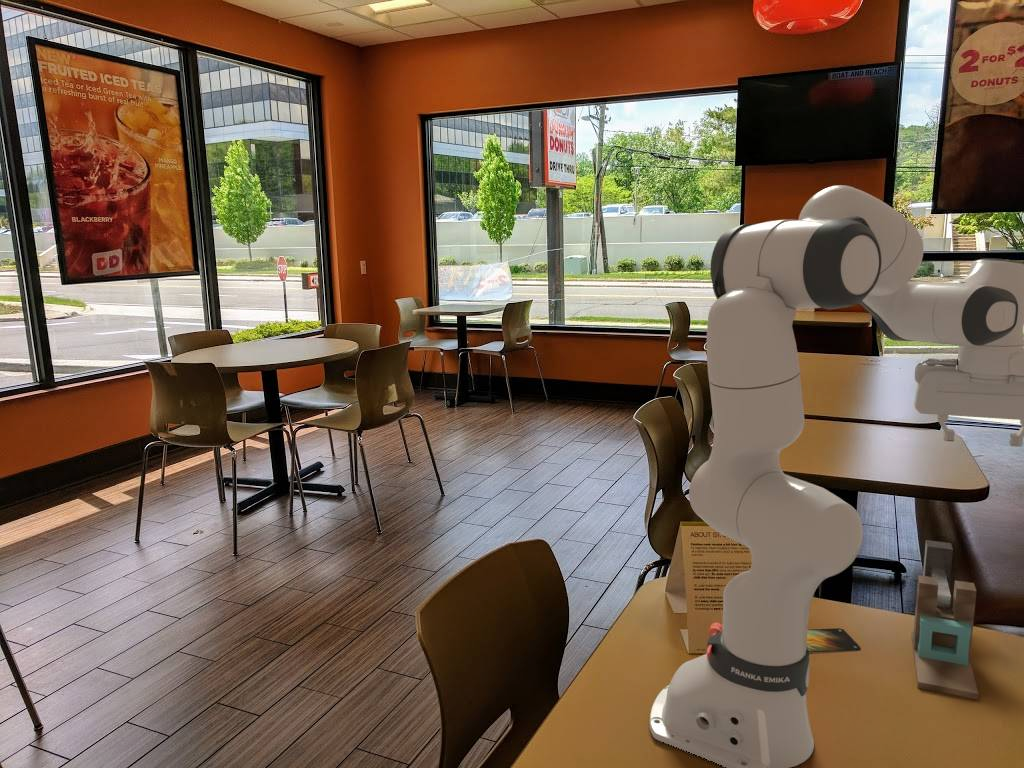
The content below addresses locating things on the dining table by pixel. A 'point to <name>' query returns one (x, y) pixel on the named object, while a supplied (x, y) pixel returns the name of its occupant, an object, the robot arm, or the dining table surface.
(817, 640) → the smartphone
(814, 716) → the dining table surface
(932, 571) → the shaft
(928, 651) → the spacer
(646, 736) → the dining table surface
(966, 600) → the stand
